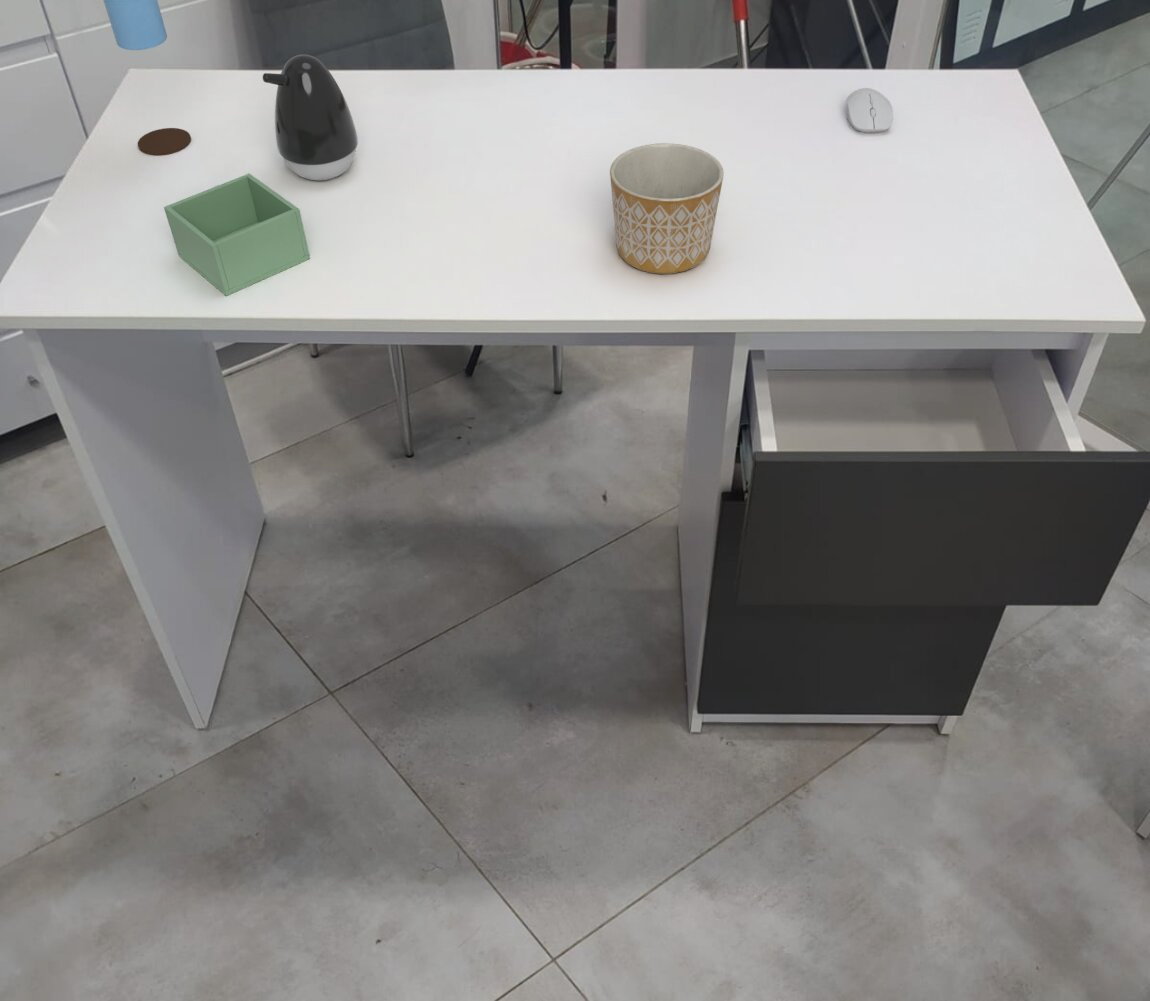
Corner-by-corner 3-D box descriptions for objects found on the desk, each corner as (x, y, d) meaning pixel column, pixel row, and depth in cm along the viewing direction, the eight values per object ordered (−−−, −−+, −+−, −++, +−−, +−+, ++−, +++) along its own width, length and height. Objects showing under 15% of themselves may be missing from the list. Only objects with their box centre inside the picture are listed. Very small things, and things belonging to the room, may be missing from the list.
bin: (226, 296, 126) (211, 246, 122) (178, 256, 132) (163, 206, 127) (310, 258, 131) (299, 208, 127) (261, 221, 137) (249, 173, 133)
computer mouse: (850, 135, 150) (854, 114, 148) (840, 102, 157) (843, 81, 155) (895, 135, 150) (899, 114, 148) (882, 102, 157) (886, 81, 155)
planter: (618, 218, 137) (619, 138, 129) (721, 227, 135) (728, 147, 127) (600, 276, 128) (600, 194, 120) (710, 286, 126) (717, 204, 119)
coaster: (153, 160, 148) (152, 157, 148) (129, 142, 152) (128, 139, 152) (200, 143, 152) (199, 140, 151) (175, 125, 155) (175, 122, 155)
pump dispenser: (269, 167, 147) (243, 53, 136) (339, 144, 151) (319, 32, 140) (303, 199, 141) (279, 83, 130) (376, 174, 145) (358, 59, 134)
